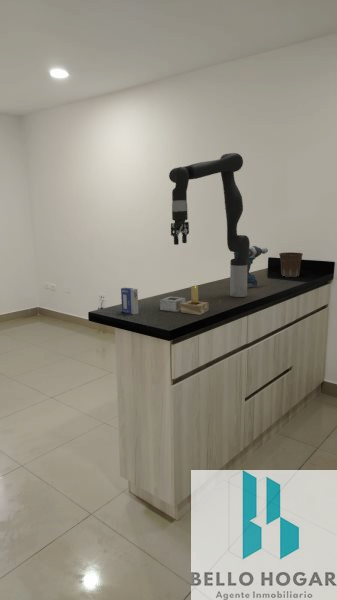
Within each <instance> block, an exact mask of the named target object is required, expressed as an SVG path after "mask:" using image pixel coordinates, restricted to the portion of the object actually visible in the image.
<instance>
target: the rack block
mask: <svg viewBox="0 0 337 600" xmlns="http://www.w3.org/2000/svg"><path fill="white" fill-rule="evenodd" d="M209 306H210V305H209V302H207V301H200V300H198V304H197V305H195V304H191V300H188V301H187V300H186V302H185V303H182V304H181V310H180V313H183V314H184V313H185V314H190V315H199V316H200V315H203V314H204V313H207V312H208V311H209V310H210V309H209Z"/></svg>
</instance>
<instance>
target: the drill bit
mask: <svg viewBox="0 0 337 600" xmlns="http://www.w3.org/2000/svg"><path fill="white" fill-rule="evenodd" d="M190 287H191V288H190V289H191V291H190V292H191V295H190V296H191V298H190V299H191V300H190V301H191V304H195V305H197V304H198V301H199V286H198V285H191V286H190Z"/></svg>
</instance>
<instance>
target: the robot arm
mask: <svg viewBox="0 0 337 600" xmlns="http://www.w3.org/2000/svg"><path fill="white" fill-rule="evenodd" d="M243 165H244V159H243V157H242V155H241V154H239V153H237V152H231V153H230V152H229V153H225V154H223V155H221V157H220V158H218V159H214V160H206V161H201V162H200V161H199V162H197V163H193V164H192V163H191V164H189V165H186V166H179V167H175V168H173V169H171V170H170V171H169V173H168V177H169V180H170V181H171V182H172V183H174V184H175V186H174V188H173V189H172V191H171V194H172V195H171V201H172V202H171V217H172V218H171V220H172V221H174V222H172V223H170V236H172V237H173V244H174V245H175V246H177V245H179V235H180V234H181V237H182V238H181V242H182V244H187V242H188V239H187V236H188V235H189V234H190V225H189V224H190V223H189V221H188V219H189V217H188V215H189V214H188V201H187V199H188V198H187V197H188V195H187V191H188V186H189V181H190V180H195V179H196V180H197V179H200V178H204V177H209V176H211V175H215V174H219V173H220V176H221V181H222V188H223V190H222V191H223V195H224V199H223V200H224V207H225V208H224V209H225V217H226V241H227V242H226V243H227V244H226V245H227V249H228V250H229V251H230V252H232V253H234V252H238V256H237V257H236V258H232V259H230V261H229V262H230V264H229V265H230V271H229V275H230V276H229V277H230V278H229V281H230V282H229V283H230V284H229V285H230V287H229V293H230V294H229V295H230V297H235V298H242V297H247V296H248V288H247V264H248V259H249V247H251V245H250V238H249V237H248V236H247V235H244V234H238V223H239V221H240V219H241V217H242V215H243V211H244V203H243V195H242V193H241V191H240V189H239V188H238V187H239V186H237V184H236V181H235V172H238V171H240V170H242V168H243Z"/></svg>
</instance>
